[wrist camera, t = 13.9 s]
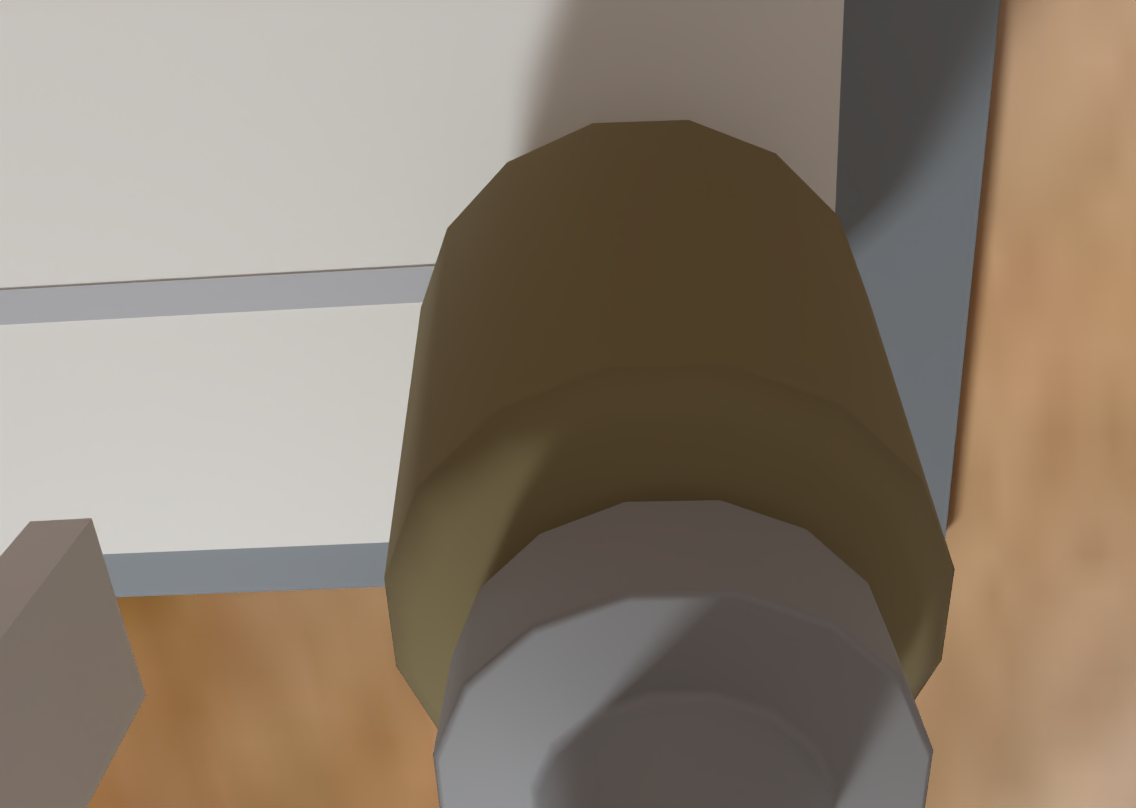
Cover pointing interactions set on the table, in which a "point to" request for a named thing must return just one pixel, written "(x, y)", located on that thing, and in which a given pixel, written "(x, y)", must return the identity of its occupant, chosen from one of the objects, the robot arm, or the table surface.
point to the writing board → (393, 233)
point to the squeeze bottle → (661, 494)
